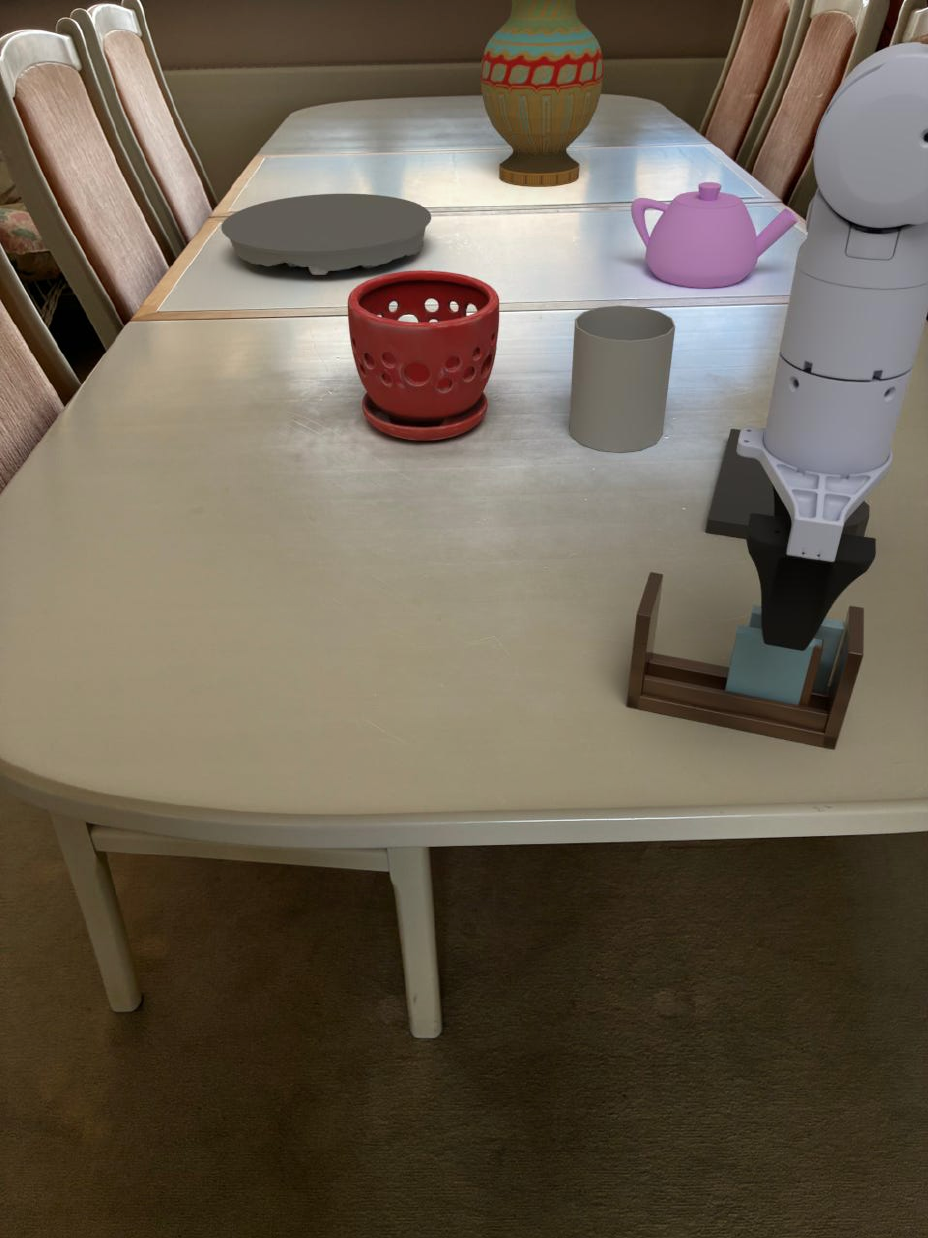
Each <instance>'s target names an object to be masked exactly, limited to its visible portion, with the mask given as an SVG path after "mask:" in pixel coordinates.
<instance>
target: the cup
mask: <svg viewBox="0 0 928 1238" xmlns="http://www.w3.org/2000/svg"><path fill="white" fill-rule="evenodd" d="M573 332H574V333H573V348H572V365H571V385H570V386H571V387H570V403H569V404H570V405H569V421H568V422H569V423H568V429H569V435H570V437H571V438H572V439H574V440H575V441H576V442H577V443H578V444H579V445H581V446H583V447H588V448H590V449H593V450H596V451H601V452H610V453H621V454H622V453H631V452H638V451H643V450H645V449H647V448H650V447H652V446H655V445H656V444H657V443H659V441H660V440H661V438H662V437H663V433H664V427H665V426H664V425H665V417H666V410H667V409H666V408H667V400H668V399H667V398H668V391H669V382H670V376H671V375H670V374H671V366H672V357H673V349H674V340H675V332H676V324H675V322H674V320H673V318H672V317H671V316H669V315H667V314H665V313H664V312H661V311H659V310H655V309H651V308H647V307H643V306H635V305H620V304H619V305H609V306H599V307H595V308H592V309H589V310H586V311H583V312H581V313H579V315H578V316H577V317H575V319H574V329H573Z"/></svg>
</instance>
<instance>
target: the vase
mask: <svg viewBox="0 0 928 1238" xmlns="http://www.w3.org/2000/svg"><path fill="white" fill-rule="evenodd" d="M603 79H604V58H603V53H602V48H601V46H600V43H599V41H598V39H597V38H596V37H595V35H594V34H593V33H592V31H591V30H589V29H588V27H587V26H586V25H584V23H582V22H581V20H580V19H579V18H578V13H577V9H576V0H511V11H510V15H509V18H508V19H507V20H506V22H505V23H504V24H503V25H502V26H501V27H500V28H499V29H498V30H496V32H495V33H494V34H493V35H492V37H490V39H489V41H488V42H487V44H486V46H485V48H484V51H483V55H482V58H481V65H480V86H481V87H480V88H481V96H482V100H483V104H484V109H485V111H486V114H487V116H488V119H489V122H490V123H491V125H492V127H493V128H494V129H495V131H496V132H497V133H498V134H499V136H500V137H501V138H502V139H503V140H504V141H505V142H506V143H507V144H508V145H509V146H510V148H512V153H511V154H510V155H509V156H507V158H505V159H504V160H502V161H501V162H500V163H499V164H498V179H500V180H501V181H502V182H504V183H507V184H511V185H518V186H526V187H550V186H551V187H552V186H560V185H565V184H569V183H573V182H575V181H577V180H578V179H579V178H580V163H579V162H578V161H576V160H575V159H574V158H573V157H571V155H569V153H568V152H567V150H568V147H570V146H571V145H572V144H573V143H574V142H575V141H576V140H577V139H578V138H579V137H580V136H581V134H583V132H584V131H585V130H586V129H587V128H588V127H589V125H590V123H591V121H592V119H593V117H594V115H595V113H596V111H597V108H598V106H599V101H600V98H601V95H602V89H603V81H604V80H603Z"/></svg>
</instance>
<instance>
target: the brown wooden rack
mask: <svg viewBox="0 0 928 1238" xmlns="http://www.w3.org/2000/svg"><path fill="white" fill-rule="evenodd" d="M663 580H664V573H659V572H654V571H650V572H649V574H648V577H647V580H646V584H645V587H644V590H643V593H642V596H641V599H640V602H639V605H638V609H637V611H636V616H635V622H634V623H635V624H634V634H633V640H632V641H633V642H632V651H631V660H630V667H629V677H628V685H627V694H626V702H625V703H626V704H625V706H626V707H627V708H631V709H632V708H633V709H637V710H642V711H647V712H652V713H656V714H661V715H665V716H671V717H676V718H680V719H685V720H691V721H696V722H700V723H705V724H710V725H713V726H714V725H715V726H719V727H724V728H730V729H733V730H739V731H743V732H749V733H753V734H759V735H762V736H767V737H773V738H777V739H781V740H787V741H793V742H796V743H801V744H806V745H812V746H816V747H822V748H825V749H826V748H827V749H831V750H835V749H836V748H837V743H838V742H839V738H840V735H841V731H842V728H843V725H844V724H843V723H844V721H845V717H846V714H847V711H848V709H849V708H848V707H849V705H850V702H851V698H852V694H853V691H854V688H855V685H856V681H857V678H858V676H859V675H858V674H859V672H860V668H861V665H862V661H863V659H864V653H865V652H864V651H865V650H864V649H865V608H864V607H861V606H856V605H849V606H848V609H847V612H846V616H845V619H844V620H841V619H835V618H829V617H825V619H824V621H823V623H822V624H821V626H820V628H819V630H818V632H817V633H816V635H815V637H814V638H820V639H823V640H824V644H823V651H822V655H821V659H820V662H819V666H818V670H817V674H816V677H815V681H814V685H813V688H812V692H811V696H810V700H809V703H808V707H806V706H801V705H796V704H791V703H786V702H780V701H775V700H770V699H765V698H760V697H755V696H750V695H745V694H740V693H735V692H730V691H725V688H726V683H727V678H728V673H729V668H730V666H726V665H725V666H724V665H719V664H714V663H708V662H704V661H698V660H692V659H688V658H682V657H676V656H671V655H667V654H661V653H656V652H654V648H655V641H656V633H657V626H658V618H659V611H660V603H661V595H662V589H663ZM748 627H753V628H759V629H762V625H761V605H752V608H751V613H750V618H749V622H748Z"/></svg>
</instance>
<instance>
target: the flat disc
mask: <svg viewBox="0 0 928 1238" xmlns="http://www.w3.org/2000/svg"><path fill="white" fill-rule="evenodd" d="M431 221H432V213H431V212H430V211H429V210H428V209H427V208H426V207H424V206H423V205H421V204H419V203H416V202H414V201H410V200H407V199H403V198H399V197H394V196H389V195H388V196H387V195H380V194H370V193H369V194H368V193H321V194H309V195H300V196H299V195H298V196H291V197H284V198H281V199H274V200H269V201H265V202H261V203H258V204H253V205H251V206H248V207H245V208H243V209H240V210H238V211H236V212H233V213H232V214H230V215H229V216H228V217H226V218H225V219H224V220H223V221H222V223H221V226H220V229H221V232H222V233H223V235H225V237H227V238H228V239H229V241H230V243H231V247H232V248H233V251H234V252H235V253H236V255H237V256H238V257H239V258H240V259H242V261H245V262H248V263H249V264H251V265H256V266H258V265H262V266H264V267H272V266H277V265H281V264H284V263H285V264H287V266H289V267H291V268H297V267H301V268H308V270H309V272H310V274H311V275H313V276H314V275H316V276H318V275H320V276H321V275H322V276H324V275H325V276H326V275H328V273H329V272H330V271H331V272H335V271H339V272H341V271H345V270H350V269H352V268H357V267H362V268H364V269H367V270H371V269H373V268H375V267H378V266H379V265H386V264H388V263H390V262H392V261H393V260H394V261H395V260H396V259H400V258H403V257H405V256H406V257H409V256H411V255H413V256H414V255H416V254H417V253H418V252H420V251H421V250H422V248H423V246H424V237H425V233H426V229H427V226H428V225H430V223H431Z"/></svg>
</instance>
